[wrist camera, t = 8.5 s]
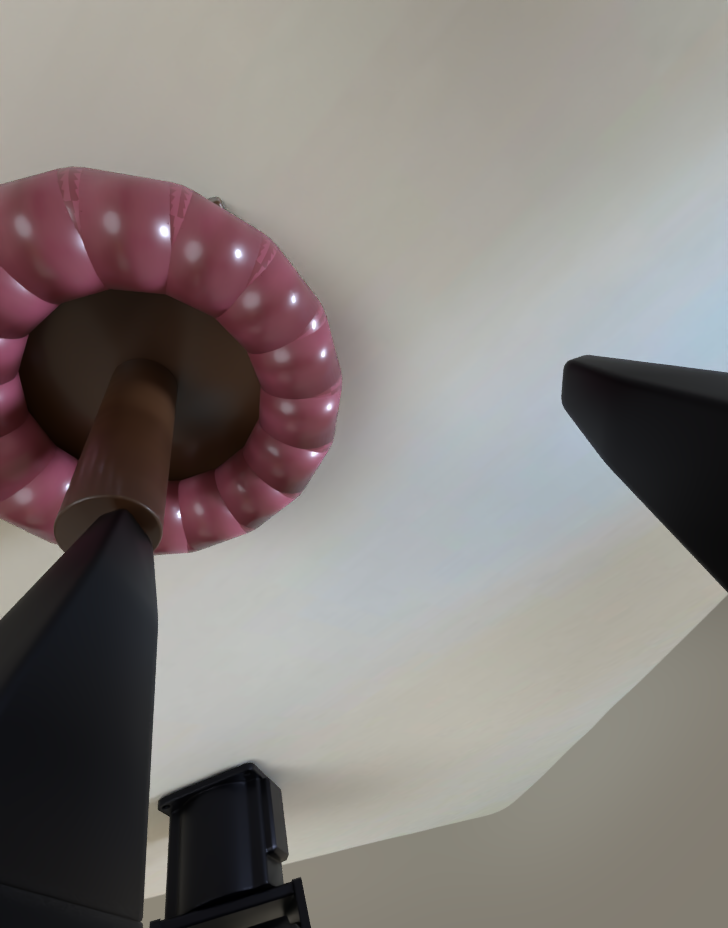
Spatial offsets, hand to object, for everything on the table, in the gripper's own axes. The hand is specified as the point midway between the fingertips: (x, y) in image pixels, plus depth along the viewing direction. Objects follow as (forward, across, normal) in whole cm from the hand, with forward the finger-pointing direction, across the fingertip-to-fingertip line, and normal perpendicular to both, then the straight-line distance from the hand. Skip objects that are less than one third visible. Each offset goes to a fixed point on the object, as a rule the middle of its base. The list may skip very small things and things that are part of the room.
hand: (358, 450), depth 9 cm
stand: (+8, +5, 0) cm, 9 cm away
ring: (+5, +5, 0) cm, 7 cm away
